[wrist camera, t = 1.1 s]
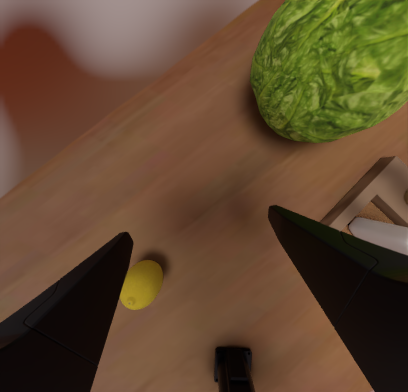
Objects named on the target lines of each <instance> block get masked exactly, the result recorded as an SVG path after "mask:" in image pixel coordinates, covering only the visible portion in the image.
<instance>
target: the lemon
mask: <svg viewBox="0 0 408 392" xmlns="http://www.w3.org/2000/svg"><path fill="white" fill-rule="evenodd" d="M162 283H163V272H162V269H161V267H160V265H159V264H158V263H156V262H155V261H152V260H143V261H141V262H138V263H137V264H135V265H134V266H132V267H131V268H130V269H129V271H128V272H127V275H126V278H125V281H124V284H123V287H122V291H121V294H120V299H121V302H122V303H123V305H124V306H126V307H127V308H129V309H133V310H137V309H142V308H144V307H146V306H147V305H149V304H150V303H151V302H152V301H153V300H154V299H155V297H156V296H157V294H158V293H159V291H160V289H161V286H162Z"/></svg>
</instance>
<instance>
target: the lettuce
mask: <svg viewBox="0 0 408 392" xmlns="http://www.w3.org/2000/svg"><path fill="white" fill-rule="evenodd" d="M250 83H251V86H252V88H253V91H254V94H255V97H256V100H257V104H258V108H259V112H260V114H261V115H262V117H263V119H264V120H265V122H266V123H267V125H268V126H269V127H270V128H272V129H273V130H274V131H275V132H276V133H277V134H278V135H280V136H283V137H285V138H288V139H291V140H293V141H302V142H312V143H322V142H331V141H334V140H337V139H340V138H342V137H345V136H348V135H351V134H353V133H356V132H359V131H362V130H364V129H367V128H370V127H372V126H374V125H376V124H378V123H379V122H381V121H383V120H385V119H386V118H388V117H389V116H391V115H392V114H393V113H395V112H396V111H397V110H399V109H400V108H401V107H402V106H403V105H404V104H405V103H406V102H407V101H408V0H285V2H284V3H283V4H282V5H281V6H280V8H279V9H278V10H277V11H276V13H275V14H274V15H273V17H272V19H271V21H270V22H269V24H268V26H267V28H266V30H265V31H264V33H263V35H262V37H261V39H260V42H259V44H258V47H257V49H256V51H255V54H254V56H253V59H252V66H251V74H250Z"/></svg>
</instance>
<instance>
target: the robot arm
mask: <svg viewBox="0 0 408 392" xmlns="http://www.w3.org/2000/svg"><path fill="white" fill-rule="evenodd" d="M268 219H269V221H270V224H271V226H272V228H273V230H274V232H275V234H276V236H277V238H278V240H279V242H280V243H281V245H282V247H283V248H284V250H285V251H286V253H287V254H288V256H289V258H290V259H291V261H292V262H293V264H294V265H295V267H296V268H297V270H298V272H299V273H300V275H301V276H302V278H303V279H304V281H305V283H306V284H307V286H308V287H309V289H310V290H311V292H312V294H313V295H314V297H315V298H316V300H317V301H318V303H319V305H320V306H321V308H322V309H323V311H324V312H325V314H326V316H327V317H328V319H329V320H330V322H331V323H332V325H333V326H334V328H335V330H336V332H337V333H338V335H339V336H340V338H341V339H342V341H343V343H344V344H345V346H346V347H347V349H348V350H349V352H350V354H351V355H352V357H353V358H354V360H355V361H356V363H357V365H358V366H359V368H360V369H361V371H362V372H363V374H364V376H365V377H366V379H367V380H368V382H369V383H370V385H371V387H372V388H373V390H374V391H375V392H408V255H405V254H402V253H399V252H396V251H393V250H391V249H388V248H385V247H382V246H379V245H376V244H373V243H371V242H368V241H365V240H362V239H360V238H357V237H355V236H352V235H350V234H347V233H345V232H342V231H339V230H337V229H335V228H332V227H330V226H327V225H325V224H322V223H320V222H317V221H315V220H312V219H310V218H307V217H305V216H302V215H300V214H297V213H295V212H292V211H290V210H287V209H285V208H282V207H280V206H277V205H273V206H269V211H268ZM132 249H133V240H132V238H131V236H130V235H129V233H128V232H122V233H119V234H118V235H117V236H115V237H114V238H113V239H112V240H110V241H109V242H108V243H106V244H105V245H104V246H102V247H101V248H100V249H99V250H97V251H96V252H95V253H93V254H92V255H91V256H89V257H88V258H87V259H86V260H84V261H83V262H82V263H80V264H79V265H78V266H76V267H75V268H74V269H73V270H71V271H70V272H69V273H67V274H66V275H65V276H63V277H62V278H61V279H60V280H58V281H57V282H56V283H54V284H53V285H52V286H50V287H49V288H48V289H46V290H45V291H44V292H42V293H41V294H40V295H38V296H37V297H36V298H34V299H33V300H32V301H30V302H29V303H27V304H26V305H25V306H23V307H22V308H21V309H19V310H18V311H16V312H15V313H14V314H12V315H11V316H9V317H8V318H6V319H5V320H4V321H2V322H1V323H0V392H90V390H91V387H92V384H93V381H94V378H95V374H96V371H97V368H98V364H99V361H100V358H101V355H102V352H103V348H104V345H105V342H106V339H107V336H108V332H109V329H110V326H111V323H112V319H113V316H114V313H115V310H116V307H117V303H118V300H119V297H120V294H121V291H122V287H123V284H124V281H125V278H126V275H127V271H128V268H129V264H130V259H131V254H132ZM251 357H252V352H251V350H250V349H245V348H216V351H215V371H214V381H215V382H218V385H219V392H255V389H254V385H253V381H252V377H251V373H250V371H251Z"/></svg>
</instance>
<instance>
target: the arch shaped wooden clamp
mask: <svg viewBox="0 0 408 392" xmlns="http://www.w3.org/2000/svg"><path fill="white" fill-rule="evenodd" d="M370 201H372V202H373V203H374V204H375V205H376V206H377V207H378V208H379V209H380V210H381V211H382V212H383V213H384V214H385V215H386V216H387V217H388V218H390V219H391V220H392V221H393V222H394V223H395V224H396V225H398V226H403V227H408V167H407V166H406V165H405V164H404V163H403V162H402V161H401V160H400V159H399V158H398V157H397V156H393V157H386V158H381V159H380V160H379V161H378V162H377V163H376V164H375V165H374V166H373V167H372V168H371V169H370V170H369V171H368V172H367V173H366V174H365V175H364V176H363V177H362V179H361V180H360V181H359V182H358V183H357V184H356V185H355V186H354V187H353V188H352V189H351V190H350V191H349V192H348V193H347V194H346V195H345V196H344V197H343V198H342V199H341V201H340V202H339V203H338V204H337V205H336V206H335V207H334V208H333V209H332V210H331V211H330V212H329V213H328V214H327V215H326V216H325V217H324V218H323V219H322V220H321V221H320V223H322V224H325V225H327V226H330V227H332V228H335V229H337V230H339V231H342V230H343V229H344V228H345V227H346V226H347V225H348V223H349V222H350V221H351V220H352V219H353V218H354V217H355V216H356V215H357V214H358V213H359V212H360V211H361V210H362V209H363V208H364V207H365V206H366V205H367V204H368V203H369V202H370Z"/></svg>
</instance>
